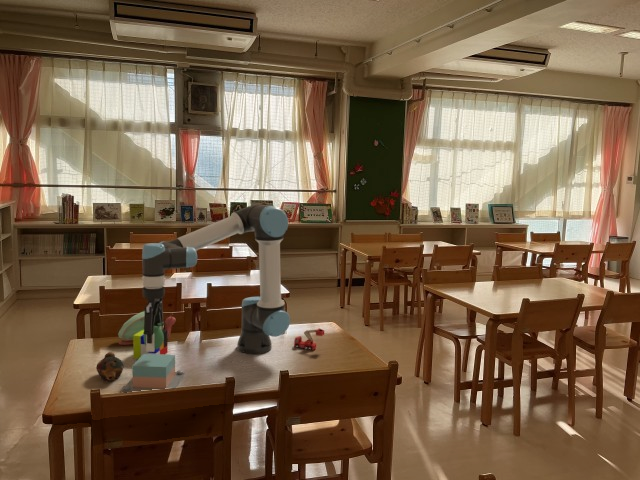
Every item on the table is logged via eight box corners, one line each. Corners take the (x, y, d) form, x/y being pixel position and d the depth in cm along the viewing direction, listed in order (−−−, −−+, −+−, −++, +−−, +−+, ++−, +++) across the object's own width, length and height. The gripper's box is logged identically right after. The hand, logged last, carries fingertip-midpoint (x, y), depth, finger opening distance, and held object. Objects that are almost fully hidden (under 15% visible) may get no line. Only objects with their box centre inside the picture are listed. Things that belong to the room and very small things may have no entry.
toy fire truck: (296, 344, 242) (296, 324, 240) (324, 349, 237) (324, 329, 235) (293, 347, 239) (293, 326, 237) (321, 352, 234) (322, 331, 232)
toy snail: (119, 346, 231) (118, 316, 229) (117, 341, 238) (116, 311, 236) (177, 340, 242) (177, 311, 240) (174, 335, 249) (174, 306, 247)
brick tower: (185, 374, 205) (185, 352, 204) (172, 394, 187) (172, 370, 186) (138, 372, 205) (138, 350, 204) (121, 392, 187) (120, 368, 186)
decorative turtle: (120, 367, 209) (121, 348, 207) (126, 385, 196) (127, 364, 194) (93, 370, 204) (94, 350, 203) (98, 388, 191) (98, 367, 190)
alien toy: (164, 344, 199) (163, 319, 197) (163, 352, 191) (163, 325, 190) (144, 345, 197) (144, 319, 195) (143, 353, 189) (143, 326, 188)
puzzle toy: (155, 361, 217) (155, 337, 215) (133, 358, 219) (133, 335, 217) (167, 352, 227) (167, 330, 225) (146, 350, 229) (145, 328, 227)
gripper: (152, 279, 201) (152, 337, 204) (133, 293, 180) (133, 357, 184) (171, 280, 201) (172, 338, 204) (155, 293, 180) (155, 357, 184)
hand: (154, 347), depth 194 cm, fingers closed on alien toy, 8 cm apart
